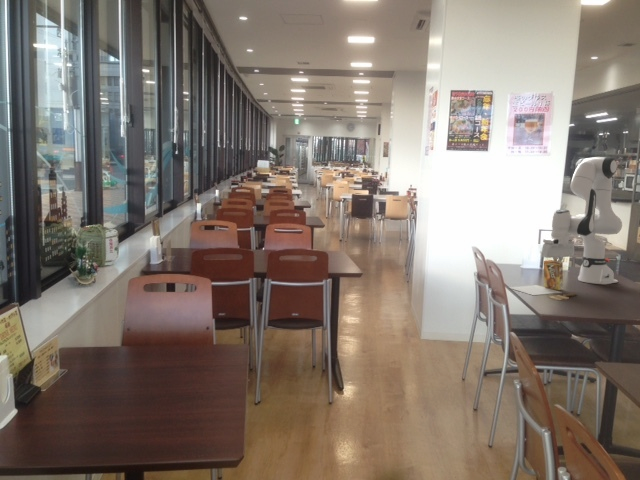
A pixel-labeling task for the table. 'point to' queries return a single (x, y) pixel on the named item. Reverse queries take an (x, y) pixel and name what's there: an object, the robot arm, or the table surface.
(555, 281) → the candy box
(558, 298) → the turner
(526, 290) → the mat
